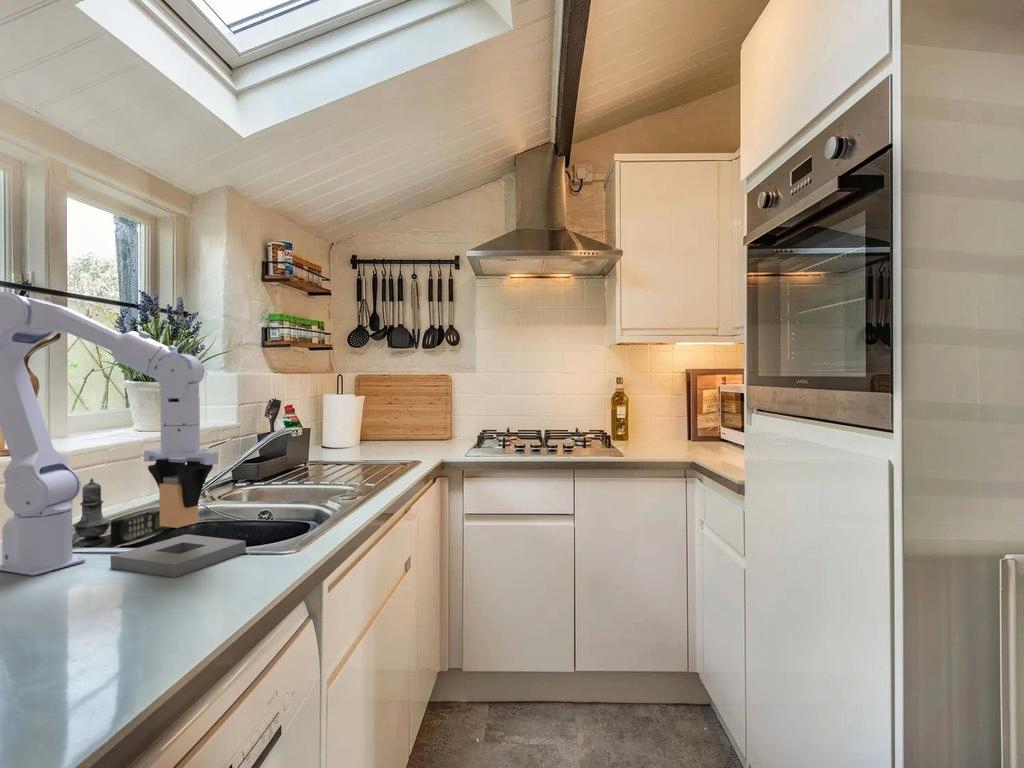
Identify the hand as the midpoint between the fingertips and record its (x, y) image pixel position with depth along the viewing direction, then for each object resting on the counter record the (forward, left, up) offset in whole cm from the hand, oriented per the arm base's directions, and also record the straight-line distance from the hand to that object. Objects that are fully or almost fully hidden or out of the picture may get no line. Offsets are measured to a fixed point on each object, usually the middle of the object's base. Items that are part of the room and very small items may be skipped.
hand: (180, 505), depth 98 cm
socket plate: (0, 0, -9) cm, 9 cm away
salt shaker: (-26, +3, -9) cm, 28 cm away
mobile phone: (-22, +11, -10) cm, 26 cm away
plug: (0, 0, -3) cm, 3 cm away
